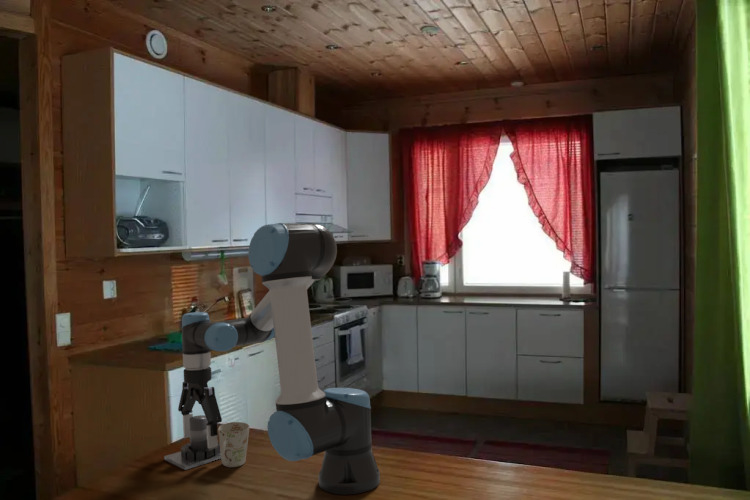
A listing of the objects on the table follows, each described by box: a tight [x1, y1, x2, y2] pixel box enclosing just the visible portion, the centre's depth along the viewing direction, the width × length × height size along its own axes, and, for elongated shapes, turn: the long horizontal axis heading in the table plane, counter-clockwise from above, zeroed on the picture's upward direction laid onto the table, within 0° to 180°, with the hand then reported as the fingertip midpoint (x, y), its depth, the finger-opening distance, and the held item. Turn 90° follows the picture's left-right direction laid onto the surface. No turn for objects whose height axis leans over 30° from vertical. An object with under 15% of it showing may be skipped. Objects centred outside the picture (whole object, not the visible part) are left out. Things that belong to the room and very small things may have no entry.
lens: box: [189, 414, 208, 450], centre depth 173 cm, size 5×5×10 cm
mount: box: [163, 441, 221, 471], centre depth 173 cm, size 12×16×3 cm
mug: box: [217, 421, 250, 468], centre depth 165 cm, size 8×13×10 cm, turn 174°
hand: (200, 442), depth 173 cm, fingers open, 13 cm apart
